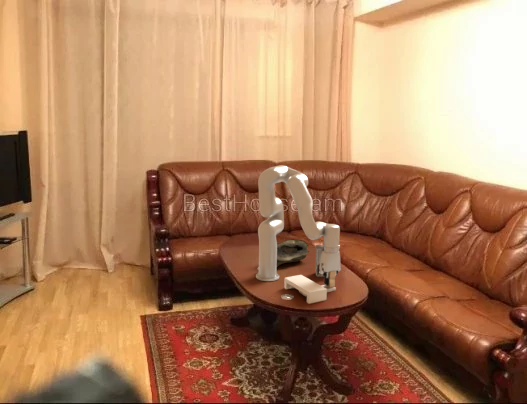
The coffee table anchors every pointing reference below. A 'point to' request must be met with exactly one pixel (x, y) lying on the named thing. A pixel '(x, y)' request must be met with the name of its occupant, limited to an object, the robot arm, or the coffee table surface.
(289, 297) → the token
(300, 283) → the cream flanged plate
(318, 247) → the coffee box
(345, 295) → the coffee table surface
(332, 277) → the white-handled mallet
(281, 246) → the hollow geode rock
